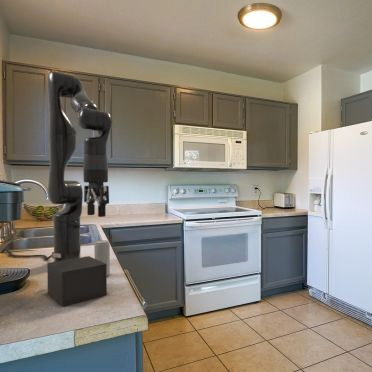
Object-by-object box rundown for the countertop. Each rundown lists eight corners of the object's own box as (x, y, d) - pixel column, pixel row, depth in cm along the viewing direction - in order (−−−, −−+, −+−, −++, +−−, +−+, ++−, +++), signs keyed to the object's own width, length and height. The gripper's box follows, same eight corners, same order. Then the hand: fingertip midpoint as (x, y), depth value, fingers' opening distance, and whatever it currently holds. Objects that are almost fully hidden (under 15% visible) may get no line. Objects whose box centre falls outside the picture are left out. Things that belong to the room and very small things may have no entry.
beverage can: (112, 273, 112) (111, 240, 112) (106, 277, 107) (106, 243, 107) (98, 273, 112) (98, 240, 112) (92, 278, 107) (91, 243, 107)
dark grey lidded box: (47, 293, 92) (47, 262, 92) (89, 284, 101) (89, 256, 101) (62, 306, 83) (61, 272, 83) (106, 294, 91) (106, 263, 91)
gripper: (116, 168, 105) (116, 216, 106) (98, 169, 115) (98, 213, 115) (93, 167, 100) (93, 218, 100) (75, 168, 109) (76, 215, 109)
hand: (96, 215), depth 108 cm, fingers open, 8 cm apart
